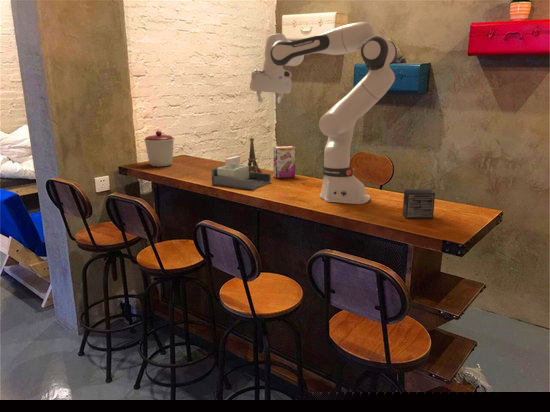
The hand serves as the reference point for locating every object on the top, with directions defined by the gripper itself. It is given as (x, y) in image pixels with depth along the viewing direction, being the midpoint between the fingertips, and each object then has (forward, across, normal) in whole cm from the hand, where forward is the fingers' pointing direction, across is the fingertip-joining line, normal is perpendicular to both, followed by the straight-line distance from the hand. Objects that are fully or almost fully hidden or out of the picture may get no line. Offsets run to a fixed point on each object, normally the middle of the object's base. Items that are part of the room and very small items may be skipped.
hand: (269, 102), depth 210 cm
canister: (+50, -26, +81) cm, 99 cm away
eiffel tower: (+43, +8, +25) cm, 50 cm away
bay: (+43, -4, +13) cm, 45 cm away
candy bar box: (+41, +23, +15) cm, 49 cm away
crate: (+42, -7, +17) cm, 46 cm away
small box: (+33, +31, -72) cm, 85 cm away
